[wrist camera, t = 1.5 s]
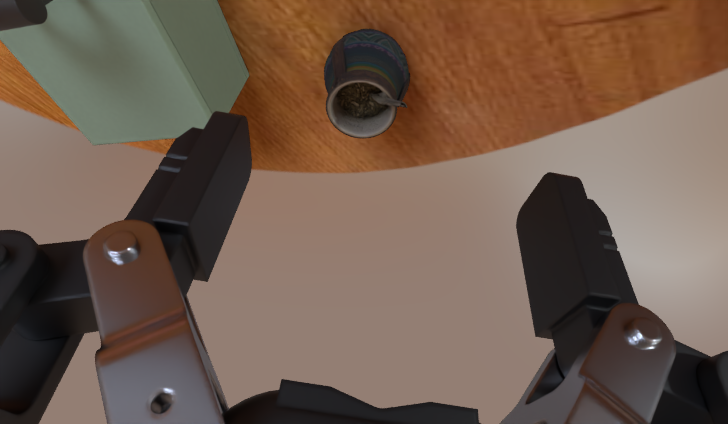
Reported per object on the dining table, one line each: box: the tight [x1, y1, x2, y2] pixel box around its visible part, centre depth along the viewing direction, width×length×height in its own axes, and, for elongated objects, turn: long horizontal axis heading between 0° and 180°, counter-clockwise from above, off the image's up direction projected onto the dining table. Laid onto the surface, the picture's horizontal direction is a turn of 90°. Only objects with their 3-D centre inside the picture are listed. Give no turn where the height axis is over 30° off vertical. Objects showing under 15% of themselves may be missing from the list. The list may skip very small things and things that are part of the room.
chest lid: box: [0, 0, 212, 145], centre depth 27 cm, size 14×12×6 cm
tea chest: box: [149, 0, 249, 114], centre depth 32 cm, size 14×12×8 cm
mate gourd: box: [324, 29, 410, 138], centre depth 32 cm, size 7×8×10 cm
